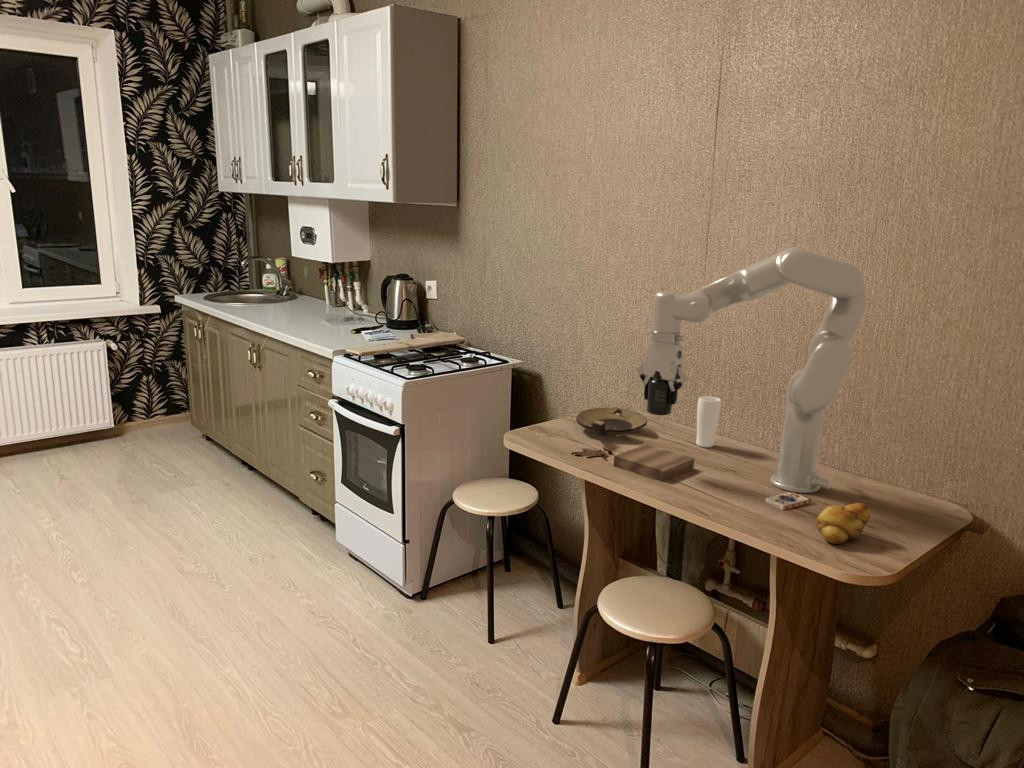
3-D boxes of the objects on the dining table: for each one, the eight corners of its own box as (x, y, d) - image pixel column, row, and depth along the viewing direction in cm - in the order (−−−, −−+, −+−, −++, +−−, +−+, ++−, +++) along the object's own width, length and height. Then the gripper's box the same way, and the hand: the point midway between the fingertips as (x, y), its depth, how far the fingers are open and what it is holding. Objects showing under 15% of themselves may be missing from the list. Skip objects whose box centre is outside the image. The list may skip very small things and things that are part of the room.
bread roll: (844, 552, 163) (850, 517, 161) (802, 536, 170) (807, 503, 168) (870, 536, 171) (875, 503, 169) (828, 522, 178) (833, 490, 176)
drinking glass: (714, 442, 236) (719, 396, 233) (717, 449, 229) (722, 402, 226) (692, 441, 237) (696, 395, 233) (695, 448, 230) (700, 400, 227)
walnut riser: (693, 468, 211) (694, 458, 211) (662, 481, 200) (663, 471, 199) (645, 454, 222) (646, 444, 221) (613, 465, 211) (614, 455, 210)
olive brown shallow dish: (660, 432, 245) (662, 410, 243) (603, 451, 224) (605, 426, 222) (605, 417, 260) (607, 396, 258) (548, 433, 239) (549, 410, 237)
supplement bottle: (675, 412, 208) (679, 370, 205) (663, 417, 203) (667, 374, 200) (654, 407, 212) (658, 366, 209) (641, 412, 207) (644, 369, 204)
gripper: (701, 341, 199) (694, 405, 203) (646, 331, 211) (641, 393, 215) (686, 343, 194) (679, 410, 198) (630, 334, 206) (625, 397, 210)
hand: (659, 401), depth 207 cm, fingers closed on supplement bottle, 6 cm apart
